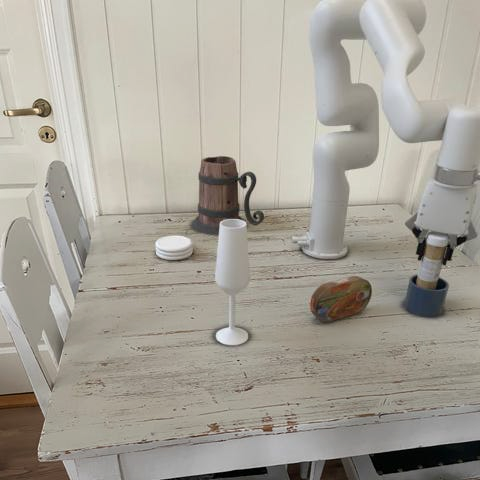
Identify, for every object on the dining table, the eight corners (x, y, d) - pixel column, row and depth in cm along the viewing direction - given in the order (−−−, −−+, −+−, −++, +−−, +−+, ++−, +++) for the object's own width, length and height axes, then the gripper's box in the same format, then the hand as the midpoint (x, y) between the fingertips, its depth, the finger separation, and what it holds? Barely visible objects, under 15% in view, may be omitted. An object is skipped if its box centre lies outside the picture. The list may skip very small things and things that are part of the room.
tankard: (181, 228, 150) (178, 162, 140) (208, 212, 163) (207, 150, 153) (250, 242, 142) (252, 173, 131) (273, 224, 154) (276, 160, 144)
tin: (314, 326, 103) (318, 291, 99) (306, 319, 105) (309, 284, 101) (369, 310, 109) (376, 276, 105) (360, 304, 112) (366, 271, 107)
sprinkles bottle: (424, 284, 112) (439, 228, 104) (439, 293, 108) (455, 236, 101) (409, 288, 110) (422, 231, 103) (424, 297, 106) (439, 239, 99)
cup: (412, 317, 107) (418, 291, 103) (398, 299, 114) (404, 274, 110) (448, 316, 107) (455, 290, 104) (432, 298, 114) (438, 273, 111)
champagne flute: (237, 348, 96) (239, 233, 83) (209, 338, 99) (206, 225, 86) (254, 333, 100) (258, 221, 88) (227, 323, 103) (227, 214, 91)
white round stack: (149, 257, 132) (148, 245, 130) (167, 244, 140) (166, 232, 138) (182, 263, 129) (181, 251, 127) (198, 249, 137) (198, 238, 135)
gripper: (501, 177, 95) (475, 262, 105) (412, 165, 101) (395, 246, 111) (501, 187, 89) (473, 276, 99) (406, 174, 95) (389, 259, 105)
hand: (432, 259), depth 105 cm, fingers closed on sprinkles bottle, 4 cm apart
